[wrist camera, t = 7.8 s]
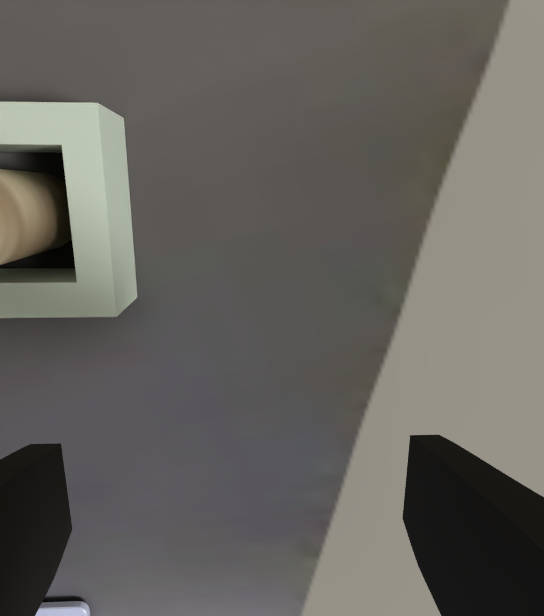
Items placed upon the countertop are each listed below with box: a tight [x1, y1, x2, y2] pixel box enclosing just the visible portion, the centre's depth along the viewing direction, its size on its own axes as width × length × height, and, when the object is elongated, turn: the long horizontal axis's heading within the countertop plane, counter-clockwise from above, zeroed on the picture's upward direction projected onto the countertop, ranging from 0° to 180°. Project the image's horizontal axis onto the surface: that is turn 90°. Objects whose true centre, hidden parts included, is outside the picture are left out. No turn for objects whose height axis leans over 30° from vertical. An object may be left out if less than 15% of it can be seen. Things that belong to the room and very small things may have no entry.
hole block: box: [0, 102, 137, 318], centre depth 16 cm, size 7×7×3 cm
